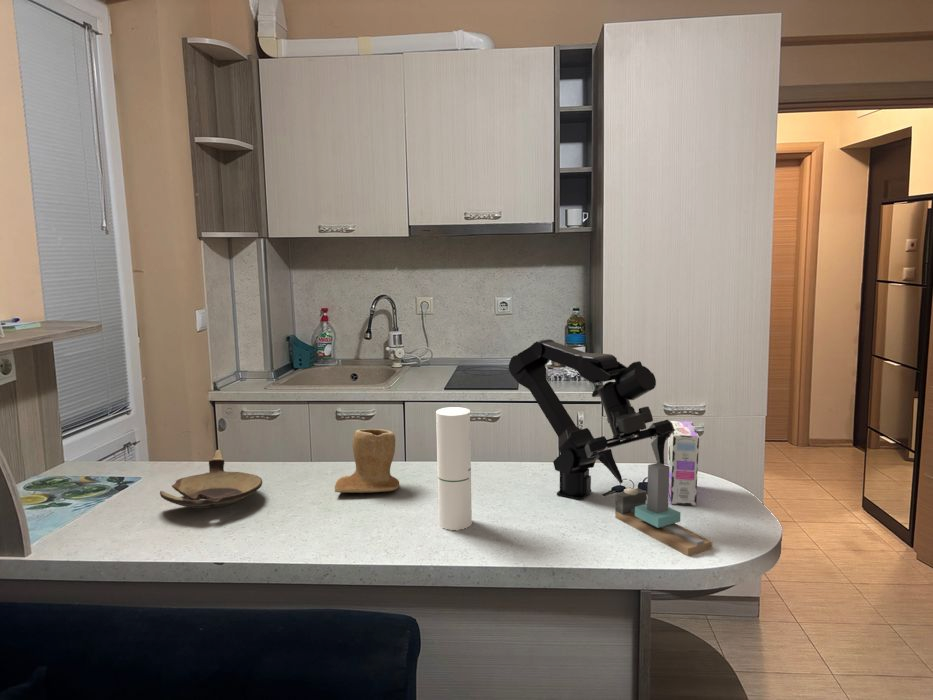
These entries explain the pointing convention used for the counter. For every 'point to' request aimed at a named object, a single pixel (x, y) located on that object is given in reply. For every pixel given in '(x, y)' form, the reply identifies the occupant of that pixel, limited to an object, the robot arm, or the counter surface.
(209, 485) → the oil lamp
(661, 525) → the carriage
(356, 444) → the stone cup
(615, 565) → the counter surface
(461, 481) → the cylindrical container
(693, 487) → the candy box
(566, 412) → the robot arm
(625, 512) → the rail
